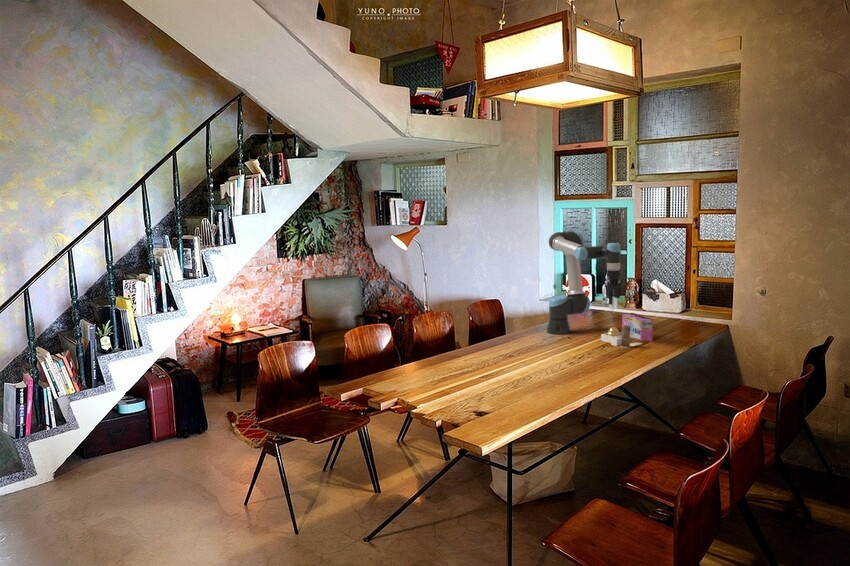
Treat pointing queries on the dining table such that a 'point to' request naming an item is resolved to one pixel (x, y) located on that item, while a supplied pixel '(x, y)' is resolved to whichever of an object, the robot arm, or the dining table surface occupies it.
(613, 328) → the dome
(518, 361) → the dining table surface
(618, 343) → the die
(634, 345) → the board
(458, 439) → the dining table surface
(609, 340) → the dome collar
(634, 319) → the gum box
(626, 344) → the brown rounded rod
